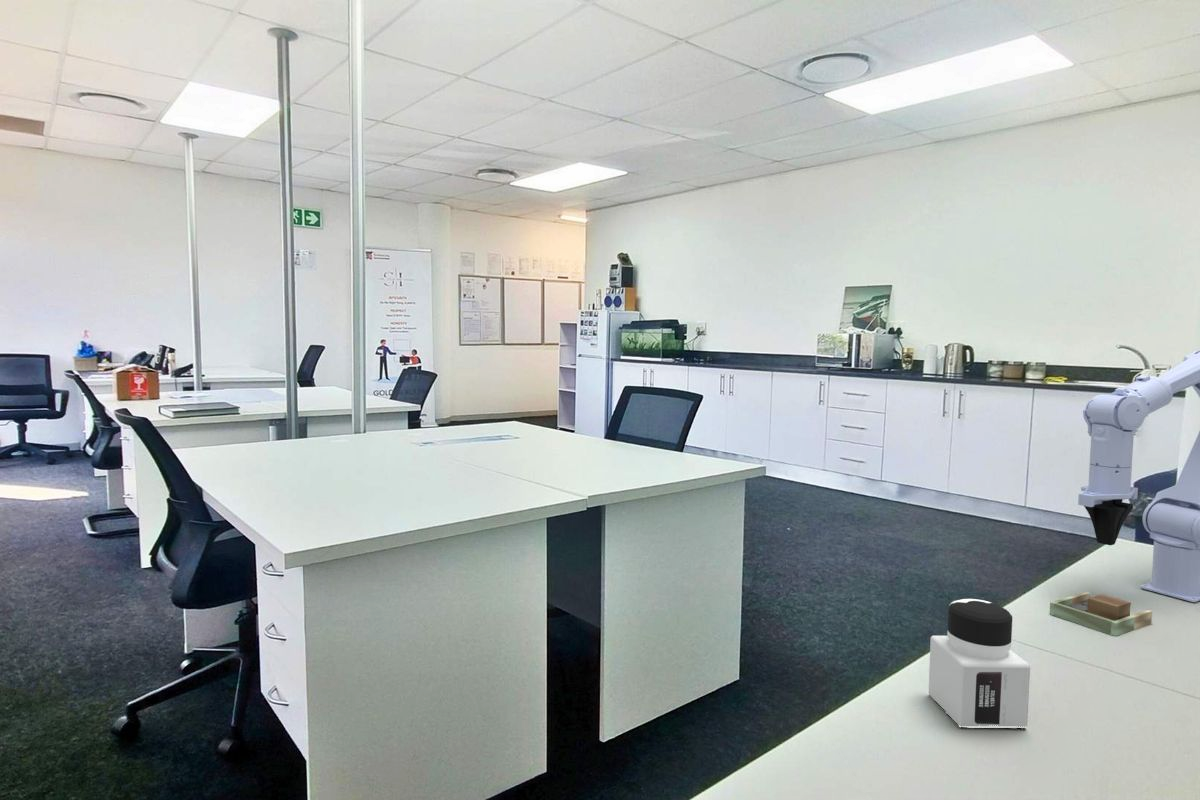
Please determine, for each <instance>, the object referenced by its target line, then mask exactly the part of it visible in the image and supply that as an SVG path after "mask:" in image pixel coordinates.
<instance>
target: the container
mask: <svg viewBox="0 0 1200 800" xmlns="http://www.w3.org/2000/svg"><path fill="white" fill-rule="evenodd" d="M947 609H948V611H947V635H932V636H930V645H929V646H930V647H929V669H928V670H929V672H928V696H930V698H932V700H933V701H936V702H937V703H938V704H939V705H940V706H941V707H942V708H943V709H944V710H945V711H946V712H945V711H944V710H943V709H942V708H941V707H940V706H939V705H938V704H937V703H936V702H935V703H936V704H937V705H938V706H939V707H940V708H941V709H942V710H943V711H944V712H945V713H946V715H947V714H948V715H949V716H950V717H951V718H952V719H953V720H954V721H955V722H956V723H957V724H958V725H960V726H979V725H980V726H989V725H990V726H991V725H992V726H993V725H994V726H995V725H996V726H997V725H998V726H1018V727H1019V726H1020V727H1021V726H1022V727H1023V726H1024V727H1025V726H1027V727H1028V721H1029V720H1028V719H1029V717H1028V716H1029V700H1030V695H1029V694H1030V677H1031V666H1030V664H1029V662H1027V661H1026V660H1024V658H1022V657H1020V656H1019V655H1017V653H1015V652H1014V651H1013V650H1011V649H1012V637H1013V615H1012V614H1011V613H1010V611H1009V610H1007V609H1006V608H1005V607H1003V606H1000V605H999V604H997V603H995V602H994V603H993V602H990V601H987V600H984V599H975V598H962V599H957V600H956V599H955V600H953V601H952V602H950V603H949V605H948V608H947ZM948 715H947V716H948ZM949 716H948V717H949ZM950 717H949V718H950ZM951 718H950V719H951ZM952 719H951V720H952ZM953 720H952V721H953ZM954 721H953V722H954ZM955 722H954V723H955ZM956 723H955V724H956ZM957 724H956V725H957ZM958 725H957V726H958Z"/></svg>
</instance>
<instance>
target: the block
mask: <svg viewBox="0 0 1200 800" xmlns="http://www.w3.org/2000/svg"><path fill="white" fill-rule="evenodd" d="M1131 605H1132V603H1131V601H1127V600H1125V599H1120V598H1117V597H1114V596H1112V595H1111V596H1110V595H1107V594H1103V593H1100V594H1097V595H1094V596H1093V595H1092V596H1090V598H1088V605H1087V612H1088V613H1091V614H1094V615H1097V616H1100V617H1104V618H1107V619H1110V620H1113V621H1116V620H1119V619H1122V618H1125V617H1128V616H1131Z"/></svg>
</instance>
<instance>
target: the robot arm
mask: <svg viewBox="0 0 1200 800" xmlns="http://www.w3.org/2000/svg"><path fill="white" fill-rule="evenodd" d="M1190 387H1192V388H1193V389H1194V391H1195V393H1196V394H1197V396H1198V397H1199V398H1200V349H1199V350H1195V351H1193V352H1191V353H1189V354H1186V355H1185V356H1184V357H1183V360H1182V362H1180V363H1179V364H1177V365H1175V366H1174V367H1172V368H1171V369H1169V370H1167V371H1166V372H1164V373H1162V374H1161V375H1160V376H1155V375H1146V374H1145V375H1144V374H1143V375H1142V374H1141V375H1138V376H1137V377H1135V381H1133V382H1131V383H1129V384H1127V385H1125V386H1123V387H1122V386H1118V387H1117V388H1116V389H1115V390H1114V391H1113V392H1111V393H1110V394H1102V393H1101V394H1098V395H1097V394H1096V395H1095V396H1094V397H1092V398H1091V399H1089V400H1088V401H1087V403H1086V405H1085V409H1083V411H1082V415H1083V418H1084V421H1085V423H1086V424H1087V434H1088V436H1089V437H1091V438H1090V447H1089V448H1090V452H1089V469H1088V470H1089V471H1088V472H1089V473H1088V485H1084V486H1081V487H1080V491H1081V492H1079V493H1078V503H1077V504H1078V506H1083V507H1084V508H1085V510H1086V511H1087V514H1088V515H1089V518H1090V520H1091V522H1092V525H1093V529H1094V534H1095V538H1096V542H1097V543H1098V544H1102V545H1107V546H1113V545H1114V546H1115V544H1116V542H1117V540H1118V538H1119V537H1118V536H1119V535H1120V531H1121V528H1122V526H1123V523H1124V522H1125V520H1126V518H1127V517H1128V516H1129V514H1130V513H1131V512H1132V511H1133V509H1134V504H1132V503H1128V502H1123V500H1129V499H1130V500H1137V499H1138V493H1139V488H1138V487H1133V486H1131V485H1132V471H1133V468H1132V466H1133V453H1134V437H1135V430H1138V429H1140V427H1141V426H1142V424H1144V421H1145V420H1146V418H1147V417H1148V416H1149V415H1150V414H1152V413H1154V412H1156V411H1157V410H1159V409H1161V408H1163V407H1166V406H1168V405H1169V404H1170V403H1171V401H1172V400H1173V397H1174V396H1173V395H1174V394H1176V393H1179V392H1181V391H1183V390H1186V389H1188V388H1190ZM1141 520H1142V525H1143V527H1144V529H1145V531H1146V532H1148V534H1149V538H1150V539H1153V550H1152V566H1151V567H1152V568H1151V581H1150V582H1147V583H1144V584H1140V586H1139V587H1140V588H1141V589H1144V590H1147V591H1150V592H1155V593H1157V594H1161V595H1165V596H1169V597H1171V598H1176V599H1181V600H1184V601H1188V602H1192V603H1196V602H1197V603H1198V602H1199V601H1200V431H1198V434H1197V436H1196V439H1195V441H1194V443H1193V445H1192V446H1191V449H1190V452H1189V454H1188V457H1187V458H1186V460H1185V463H1184V466H1183V467H1182V470H1181V472H1180V475H1179V477H1178V479H1177V481H1176V484H1174V485H1173V486H1171V487H1167V488H1165V489H1162V490H1160V491H1158V492H1156V494H1155V497H1154V498H1153V500H1152V501H1151V502H1150V503H1149V504H1148V505H1146V507H1145V509H1144V510H1143V513H1142V519H1141Z"/></svg>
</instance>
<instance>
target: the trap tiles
mask: <svg viewBox="0 0 1200 800" xmlns="http://www.w3.org/2000/svg"><path fill="white" fill-rule="evenodd" d="M1087 605H1088V602H1084V603H1081V604H1077V605H1074V606H1071V607H1072V608H1075V609H1078V610H1082V611H1085V612H1087Z"/></svg>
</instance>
